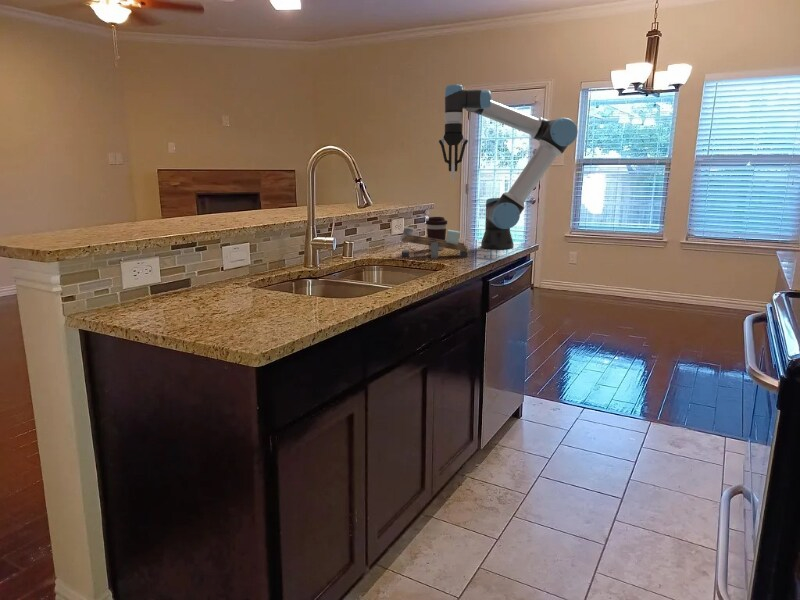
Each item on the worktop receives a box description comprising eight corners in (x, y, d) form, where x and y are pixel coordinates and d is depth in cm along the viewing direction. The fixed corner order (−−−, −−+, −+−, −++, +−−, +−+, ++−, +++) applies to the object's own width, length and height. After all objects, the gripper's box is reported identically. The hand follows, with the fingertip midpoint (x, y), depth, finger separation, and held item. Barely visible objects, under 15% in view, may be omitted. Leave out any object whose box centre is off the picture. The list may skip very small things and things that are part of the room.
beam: (465, 248, 246) (467, 235, 245) (466, 251, 238) (469, 238, 236) (402, 239, 247) (404, 226, 245) (401, 241, 238) (403, 228, 237)
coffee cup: (423, 250, 259) (423, 218, 256) (428, 247, 269) (428, 216, 265) (444, 251, 257) (444, 218, 253) (449, 248, 266) (449, 216, 262)
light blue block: (456, 245, 244) (459, 231, 242) (457, 246, 239) (459, 232, 238) (445, 243, 244) (447, 229, 242) (445, 244, 239) (448, 230, 238)
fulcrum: (466, 254, 248) (466, 238, 247) (467, 258, 237) (467, 242, 235) (403, 254, 250) (402, 238, 248) (401, 258, 238) (401, 242, 237)
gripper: (468, 123, 245) (467, 178, 250) (438, 124, 245) (437, 179, 251) (469, 122, 237) (468, 179, 243) (438, 122, 238) (438, 179, 244)
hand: (452, 179), depth 247 cm, fingers closed
